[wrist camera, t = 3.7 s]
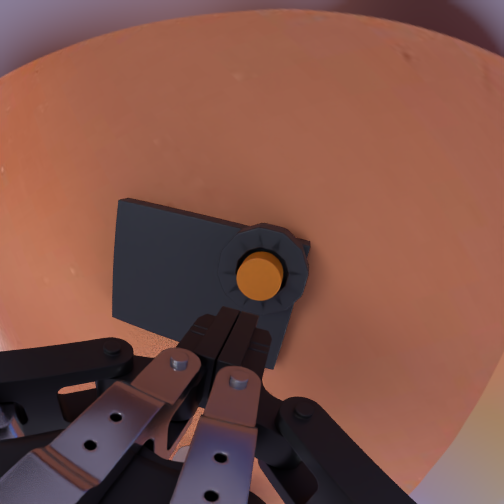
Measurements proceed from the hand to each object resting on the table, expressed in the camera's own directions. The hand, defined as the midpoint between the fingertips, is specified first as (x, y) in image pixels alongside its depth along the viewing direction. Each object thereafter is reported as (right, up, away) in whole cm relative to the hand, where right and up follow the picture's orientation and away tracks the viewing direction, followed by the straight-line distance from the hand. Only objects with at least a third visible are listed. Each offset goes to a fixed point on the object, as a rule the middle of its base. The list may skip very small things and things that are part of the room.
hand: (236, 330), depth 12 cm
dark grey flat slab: (-3, +1, +11) cm, 11 cm away
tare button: (+1, +2, +7) cm, 7 cm away
